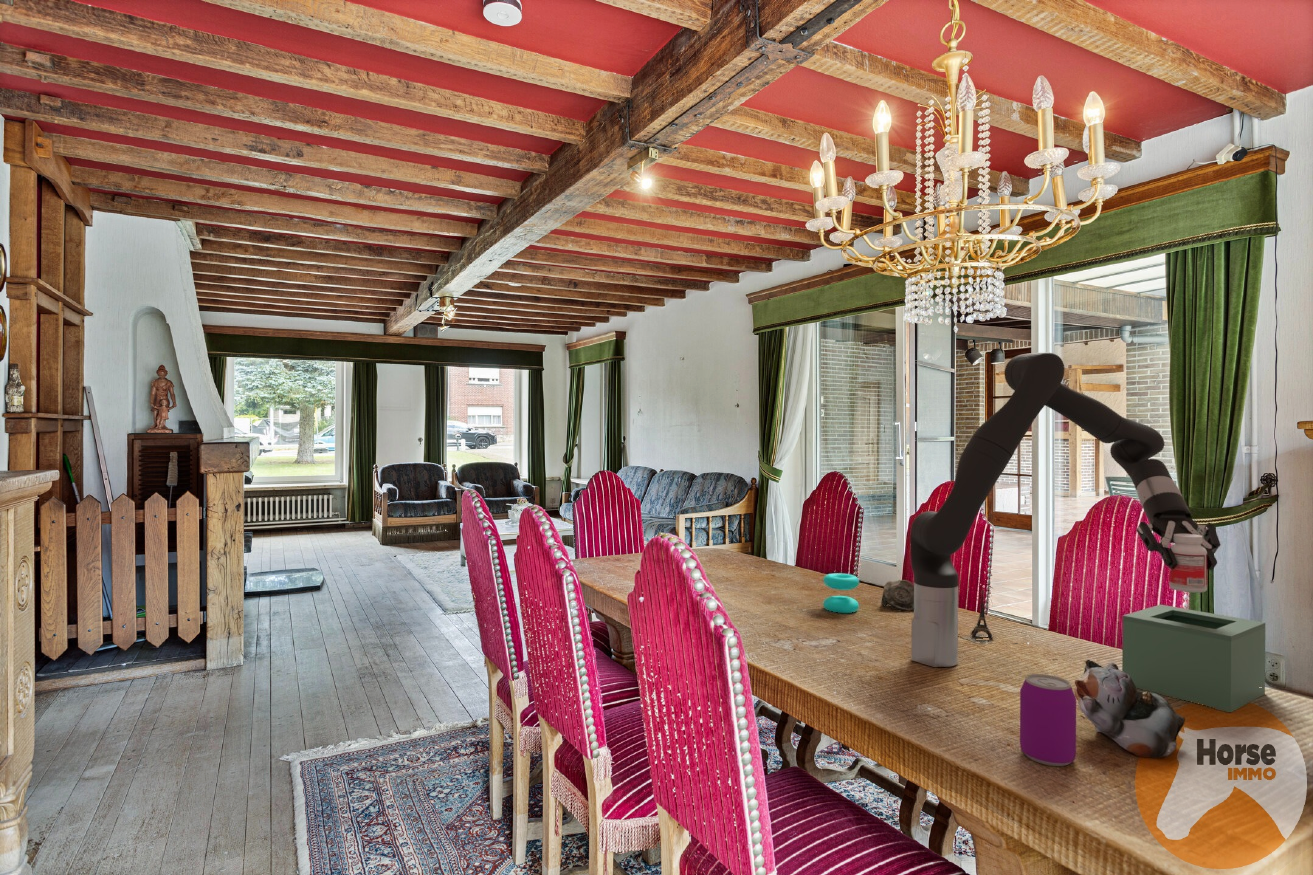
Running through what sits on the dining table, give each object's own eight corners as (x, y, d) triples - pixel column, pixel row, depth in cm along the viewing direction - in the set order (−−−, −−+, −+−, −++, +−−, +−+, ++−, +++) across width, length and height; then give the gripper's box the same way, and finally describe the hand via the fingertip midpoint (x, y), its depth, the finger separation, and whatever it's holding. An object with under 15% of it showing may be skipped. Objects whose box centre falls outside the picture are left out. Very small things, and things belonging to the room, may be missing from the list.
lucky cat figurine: (1166, 768, 108) (1114, 682, 110) (1091, 769, 117) (1045, 690, 120) (1199, 717, 116) (1150, 639, 119) (1127, 722, 126) (1083, 650, 128)
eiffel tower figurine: (941, 633, 184) (942, 581, 184) (971, 629, 188) (972, 579, 188) (988, 649, 170) (989, 593, 170) (1019, 645, 174) (1020, 590, 174)
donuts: (846, 580, 199) (816, 575, 207) (846, 616, 199) (816, 609, 207) (865, 576, 206) (836, 571, 213) (865, 610, 206) (835, 604, 213)
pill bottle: (1179, 585, 148) (1179, 532, 148) (1213, 591, 142) (1213, 536, 142) (1162, 588, 145) (1162, 534, 145) (1196, 594, 139) (1196, 538, 139)
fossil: (899, 612, 202) (887, 578, 206) (880, 620, 209) (868, 587, 214) (928, 607, 207) (915, 574, 211) (908, 615, 214) (896, 583, 218)
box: (1230, 712, 130) (1231, 636, 130) (1122, 684, 145) (1122, 615, 145) (1264, 693, 140) (1265, 622, 140) (1160, 668, 155) (1160, 604, 155)
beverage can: (1087, 767, 108) (1087, 688, 108) (1038, 769, 107) (1039, 689, 107) (1055, 745, 115) (1055, 671, 115) (1009, 747, 115) (1010, 672, 115)
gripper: (1131, 490, 152) (1159, 555, 140) (1207, 491, 149) (1242, 557, 138) (1119, 512, 157) (1146, 576, 146) (1192, 513, 155) (1225, 579, 143)
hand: (1192, 566), depth 142 cm, fingers closed on pill bottle, 6 cm apart
